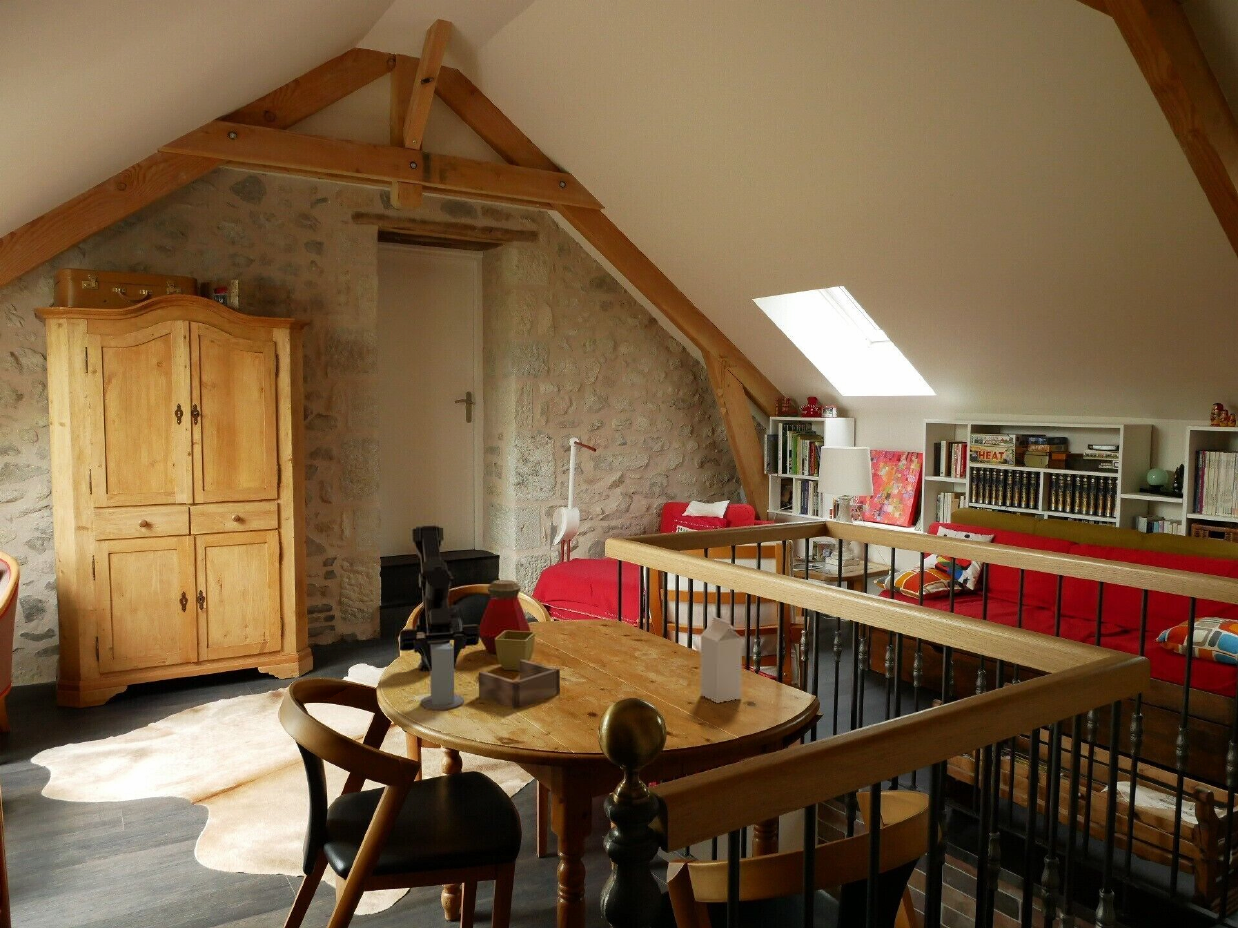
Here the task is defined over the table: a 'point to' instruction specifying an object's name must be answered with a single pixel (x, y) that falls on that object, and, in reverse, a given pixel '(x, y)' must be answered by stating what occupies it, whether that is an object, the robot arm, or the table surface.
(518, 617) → the bottle
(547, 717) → the table surface
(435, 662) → the block
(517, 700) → the crate
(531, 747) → the table surface
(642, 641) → the table surface
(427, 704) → the mat
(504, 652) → the flower pot
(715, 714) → the table surface
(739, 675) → the milk carton
